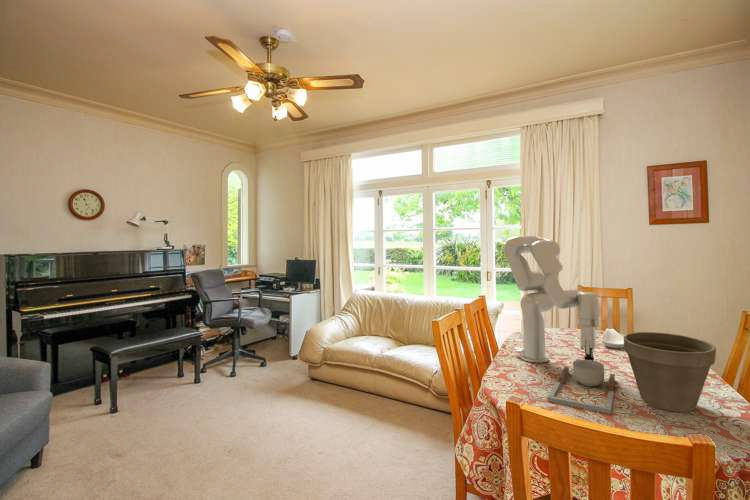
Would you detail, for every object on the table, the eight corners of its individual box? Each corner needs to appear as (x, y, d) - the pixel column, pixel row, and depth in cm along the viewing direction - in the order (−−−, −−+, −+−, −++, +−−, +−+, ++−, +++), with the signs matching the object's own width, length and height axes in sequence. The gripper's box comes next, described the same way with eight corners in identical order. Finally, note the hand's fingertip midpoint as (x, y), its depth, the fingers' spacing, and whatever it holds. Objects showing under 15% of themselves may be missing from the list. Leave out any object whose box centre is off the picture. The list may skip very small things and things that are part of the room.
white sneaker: (630, 351, 187) (629, 337, 186) (602, 349, 191) (602, 335, 191) (620, 339, 208) (619, 326, 208) (595, 338, 213) (595, 325, 213)
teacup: (609, 389, 140) (608, 368, 140) (578, 388, 142) (577, 367, 142) (595, 376, 154) (594, 357, 154) (566, 375, 156) (566, 356, 156)
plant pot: (726, 428, 110) (725, 355, 110) (626, 410, 123) (625, 345, 123) (707, 397, 131) (706, 336, 131) (623, 384, 144) (622, 329, 144)
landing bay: (547, 401, 132) (547, 397, 132) (556, 385, 145) (556, 381, 145) (610, 414, 121) (610, 409, 121) (613, 395, 134) (613, 391, 134)
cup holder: (558, 383, 147) (558, 377, 147) (564, 372, 159) (564, 366, 159) (612, 393, 137) (612, 386, 137) (614, 380, 149) (614, 374, 149)
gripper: (580, 317, 163) (581, 359, 163) (575, 324, 150) (577, 369, 151) (600, 319, 158) (601, 362, 159) (597, 326, 146) (598, 372, 146)
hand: (589, 365), depth 155 cm, fingers closed
